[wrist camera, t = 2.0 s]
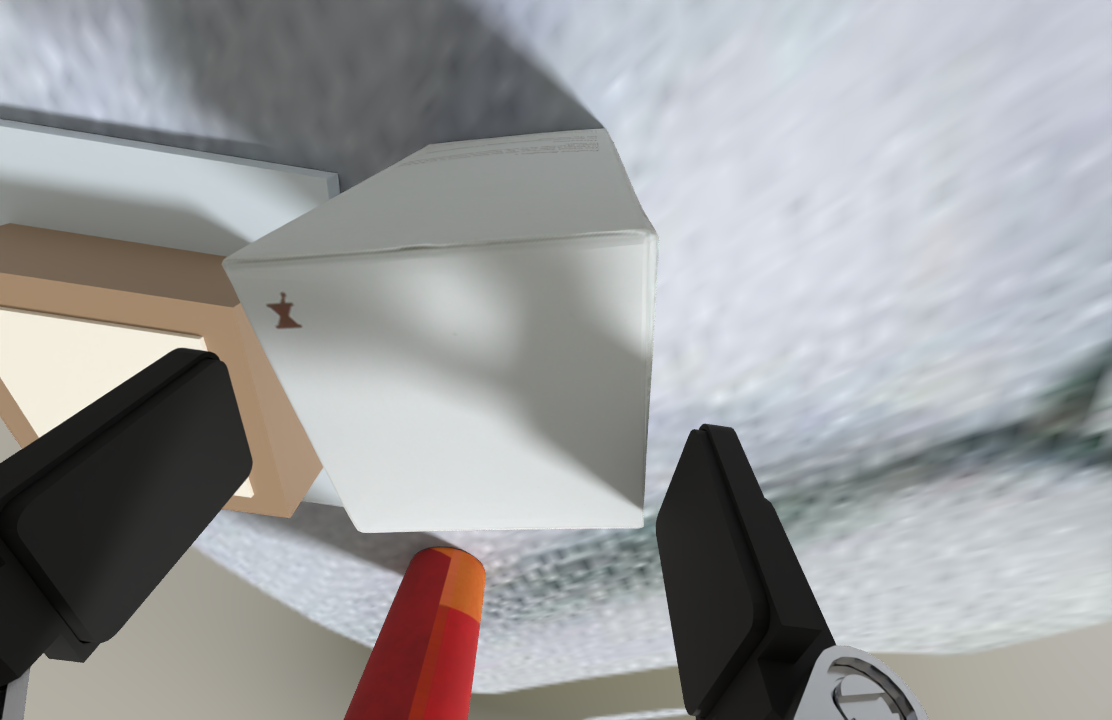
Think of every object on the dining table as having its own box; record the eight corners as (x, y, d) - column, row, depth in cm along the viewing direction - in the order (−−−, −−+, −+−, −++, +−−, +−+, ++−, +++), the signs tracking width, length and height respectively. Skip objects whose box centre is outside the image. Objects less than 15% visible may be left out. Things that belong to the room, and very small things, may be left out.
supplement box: (461, 309, 22) (345, 540, 11) (425, 139, 18) (195, 251, 7) (616, 302, 21) (648, 539, 11) (615, 124, 17) (663, 222, 7)
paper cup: (391, 587, 35) (295, 848, 24) (401, 526, 31) (290, 807, 19) (490, 607, 36) (445, 869, 24) (512, 551, 32) (470, 834, 20)
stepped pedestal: (-67, 108, 18) (-273, 122, 14) (337, 173, 19) (263, 207, 14) (121, 462, 29) (39, 533, 25) (373, 497, 30) (337, 572, 25)
